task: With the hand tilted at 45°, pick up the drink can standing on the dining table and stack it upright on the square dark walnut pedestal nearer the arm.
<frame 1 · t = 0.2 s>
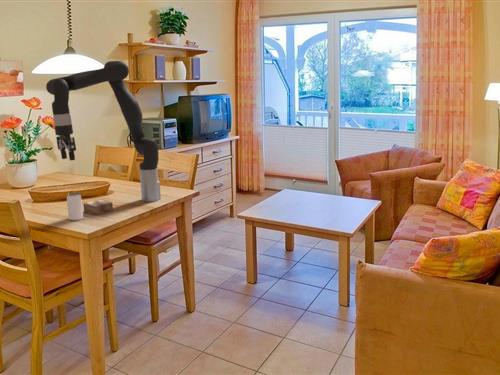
hand: (68, 159, 221), 29 cm above the table, tool pointing down, fingers open, 8 cm apart
can: (76, 219, 228), on the table
pedestal: (98, 211, 240), on the table
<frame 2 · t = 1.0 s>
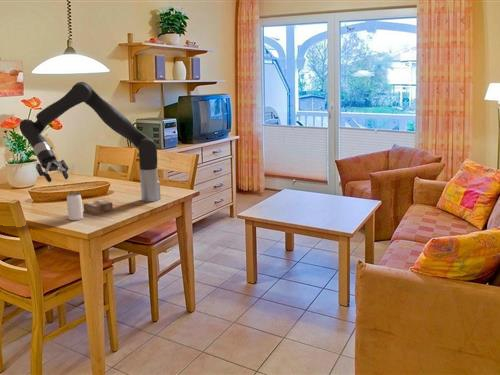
hand: (58, 179, 231), 17 cm above the table, tool tilted 45°, fingers open, 8 cm apart
nothing on the table moved.
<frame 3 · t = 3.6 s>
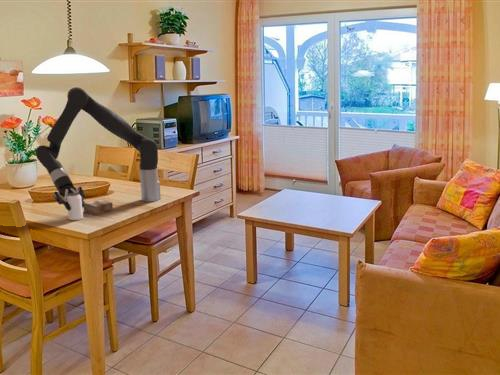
hand: (76, 207, 225), 6 cm above the table, tool tilted 45°, fingers closed on can, 6 cm apart
can: (76, 219, 228), on the table, touching gripper
when the fingers open (11 cm above the table, at t = 8.4 s): can drops 1 cm, resting on pedestal.
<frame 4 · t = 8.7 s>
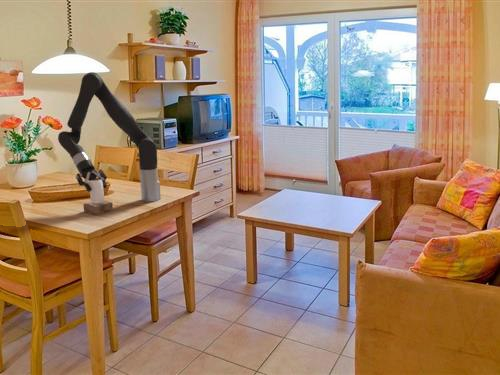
hand: (98, 189, 237), 11 cm above the table, tool tilted 45°, fingers open, 8 cm apart
can: (97, 202, 239), point 4 cm above the table, touching pedestal
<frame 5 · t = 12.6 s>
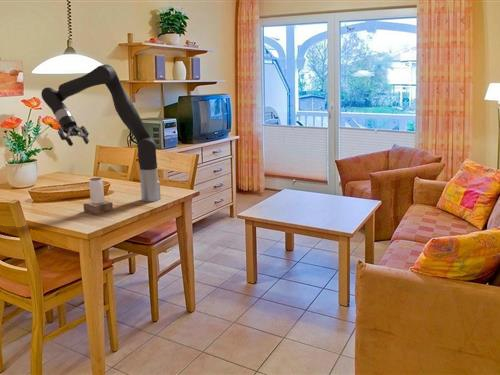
hand: (79, 144, 240), 33 cm above the table, tool tilted 45°, fingers open, 8 cm apart
nothing on the table moved.
at the end: can inside the target area on the pedestal (0.3 cm from its centre), point 4.1 cm above the pedestal's base; can tilted 0°; can touching pedestal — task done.
